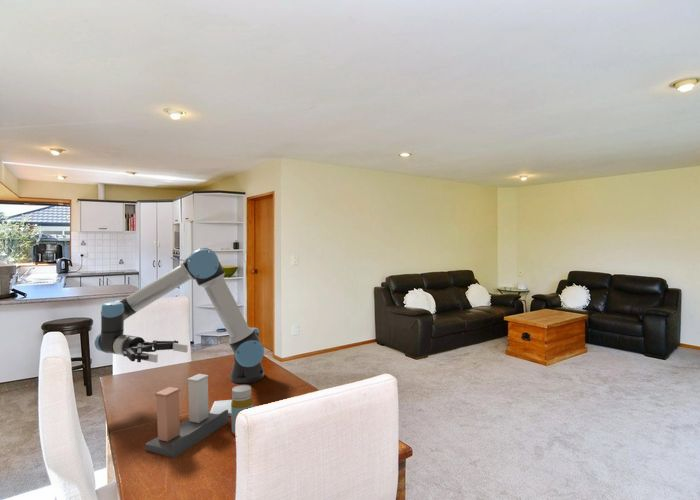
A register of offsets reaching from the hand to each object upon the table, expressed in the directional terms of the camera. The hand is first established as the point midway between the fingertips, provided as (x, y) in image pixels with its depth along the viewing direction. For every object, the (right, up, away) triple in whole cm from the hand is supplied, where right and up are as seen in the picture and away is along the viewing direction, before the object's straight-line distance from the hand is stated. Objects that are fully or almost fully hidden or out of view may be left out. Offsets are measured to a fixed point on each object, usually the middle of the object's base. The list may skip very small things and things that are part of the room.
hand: (172, 353), depth 141 cm
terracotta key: (+6, -22, -16) cm, 28 cm away
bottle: (+28, -24, -9) cm, 38 cm away
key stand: (+11, -24, -11) cm, 29 cm away
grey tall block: (+11, -22, -4) cm, 25 cm away
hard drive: (+15, -24, +8) cm, 30 cm away
